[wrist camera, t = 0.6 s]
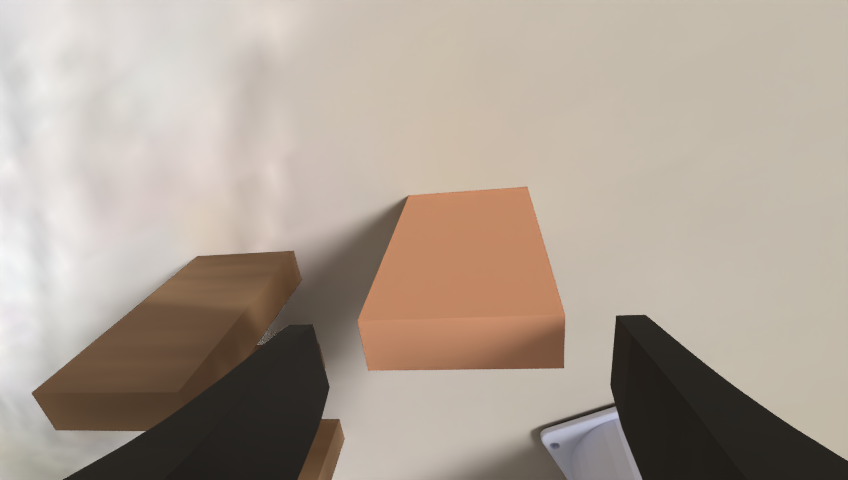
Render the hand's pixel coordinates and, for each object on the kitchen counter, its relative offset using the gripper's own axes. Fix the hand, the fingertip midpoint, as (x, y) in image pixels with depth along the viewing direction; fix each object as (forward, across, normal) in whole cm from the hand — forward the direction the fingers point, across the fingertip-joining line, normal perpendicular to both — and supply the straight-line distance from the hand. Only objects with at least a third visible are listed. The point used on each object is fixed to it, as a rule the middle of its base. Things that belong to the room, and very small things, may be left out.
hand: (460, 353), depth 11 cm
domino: (+9, +11, +2) cm, 15 cm away
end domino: (+9, 0, 0) cm, 9 cm away
